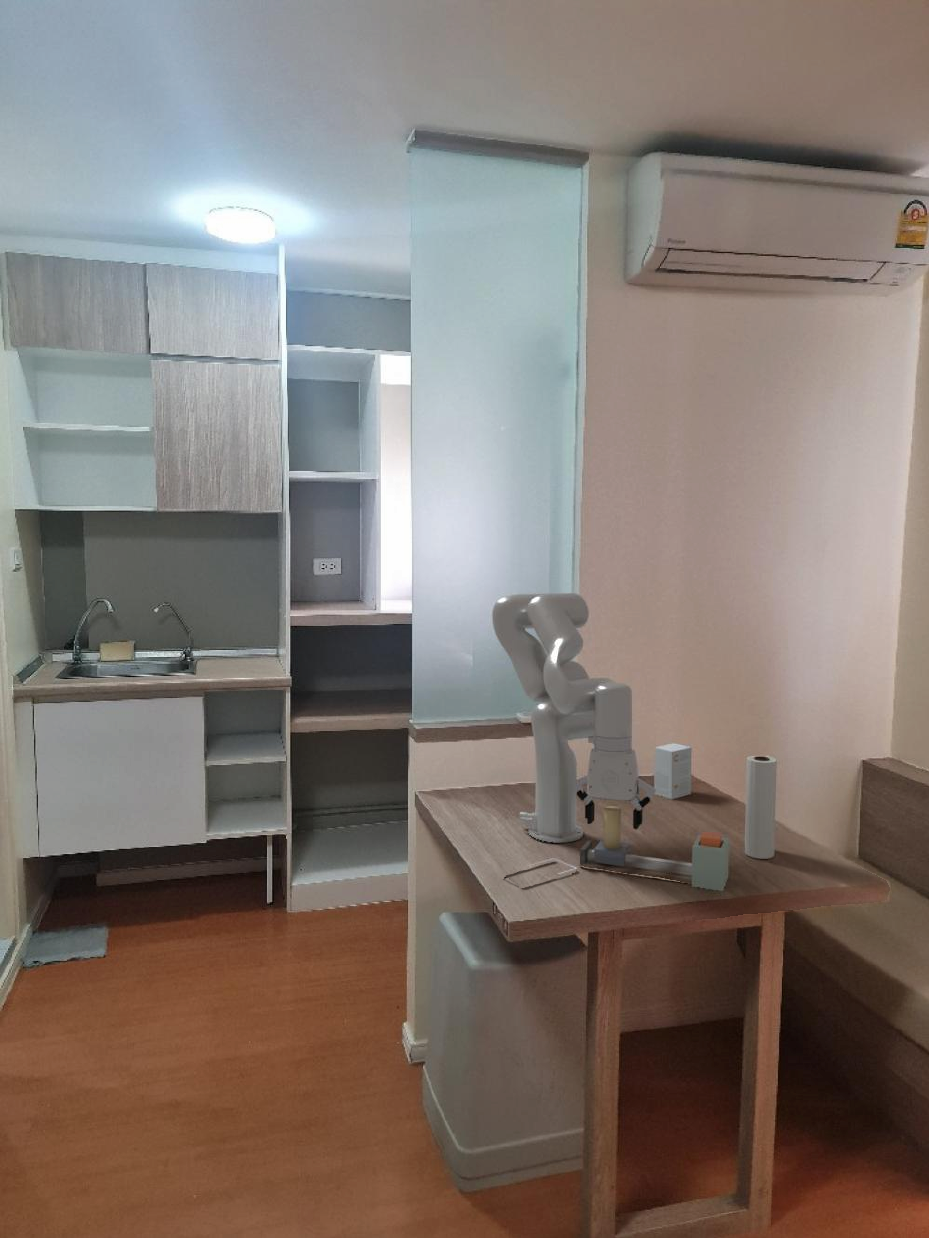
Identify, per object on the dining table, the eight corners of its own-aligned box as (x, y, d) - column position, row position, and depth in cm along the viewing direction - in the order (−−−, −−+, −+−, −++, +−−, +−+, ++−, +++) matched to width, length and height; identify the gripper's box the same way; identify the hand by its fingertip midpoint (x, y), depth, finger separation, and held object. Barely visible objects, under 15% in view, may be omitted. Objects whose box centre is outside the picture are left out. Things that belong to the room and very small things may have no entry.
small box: (672, 789, 239) (673, 742, 238) (691, 794, 234) (692, 746, 233) (653, 794, 234) (653, 746, 233) (671, 800, 229) (672, 751, 228)
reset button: (700, 852, 173) (700, 837, 172) (702, 846, 176) (703, 831, 176) (718, 855, 171) (719, 839, 171) (721, 849, 175) (721, 833, 174)
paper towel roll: (758, 861, 185) (760, 762, 183) (738, 852, 191) (740, 756, 189) (784, 856, 188) (787, 759, 186) (764, 847, 193) (766, 752, 192)
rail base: (579, 867, 182) (580, 849, 182) (587, 858, 187) (587, 840, 187) (692, 884, 173) (692, 865, 172) (697, 874, 178) (697, 855, 178)
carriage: (594, 863, 181) (594, 811, 180) (601, 854, 186) (601, 803, 185) (622, 868, 178) (623, 814, 177) (629, 858, 184) (630, 806, 183)
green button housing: (691, 886, 172) (692, 847, 171) (697, 872, 179) (698, 834, 178) (723, 891, 169) (723, 851, 169) (728, 876, 177) (729, 838, 176)
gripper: (567, 744, 180) (568, 825, 181) (651, 750, 173) (651, 835, 174) (577, 737, 187) (578, 815, 188) (659, 742, 180) (658, 824, 181)
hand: (613, 824), depth 181 cm, fingers open, 9 cm apart
